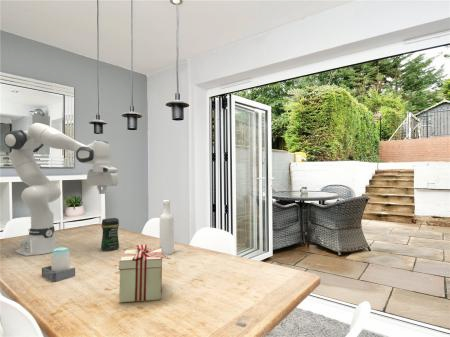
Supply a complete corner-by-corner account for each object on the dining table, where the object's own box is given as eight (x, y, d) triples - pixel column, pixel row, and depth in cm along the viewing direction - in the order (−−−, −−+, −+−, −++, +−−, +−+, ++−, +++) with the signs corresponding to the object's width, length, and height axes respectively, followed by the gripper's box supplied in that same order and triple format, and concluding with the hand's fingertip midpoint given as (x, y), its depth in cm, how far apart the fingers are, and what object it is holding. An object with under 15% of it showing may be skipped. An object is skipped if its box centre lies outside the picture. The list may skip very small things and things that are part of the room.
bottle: (170, 255, 154) (170, 201, 154) (157, 254, 155) (157, 200, 156) (175, 251, 162) (175, 199, 162) (163, 250, 163) (162, 199, 163)
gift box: (172, 298, 102) (172, 251, 102) (118, 305, 97) (118, 255, 97) (168, 281, 118) (167, 240, 119) (121, 286, 113) (121, 243, 113)
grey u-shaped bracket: (63, 270, 132) (63, 262, 132) (75, 275, 125) (75, 268, 125) (41, 275, 125) (41, 267, 125) (53, 282, 117) (53, 274, 117)
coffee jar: (104, 252, 161) (104, 220, 161) (99, 249, 166) (99, 218, 167) (121, 249, 167) (120, 218, 168) (115, 246, 173) (115, 216, 173)
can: (67, 277, 123) (67, 250, 123) (49, 279, 121) (49, 251, 121) (71, 272, 129) (71, 246, 130) (54, 273, 128) (54, 247, 128)
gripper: (83, 169, 158) (83, 193, 157) (111, 168, 150) (111, 194, 150) (92, 169, 163) (92, 192, 163) (119, 169, 156) (119, 193, 155)
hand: (101, 193), depth 156 cm, fingers closed
